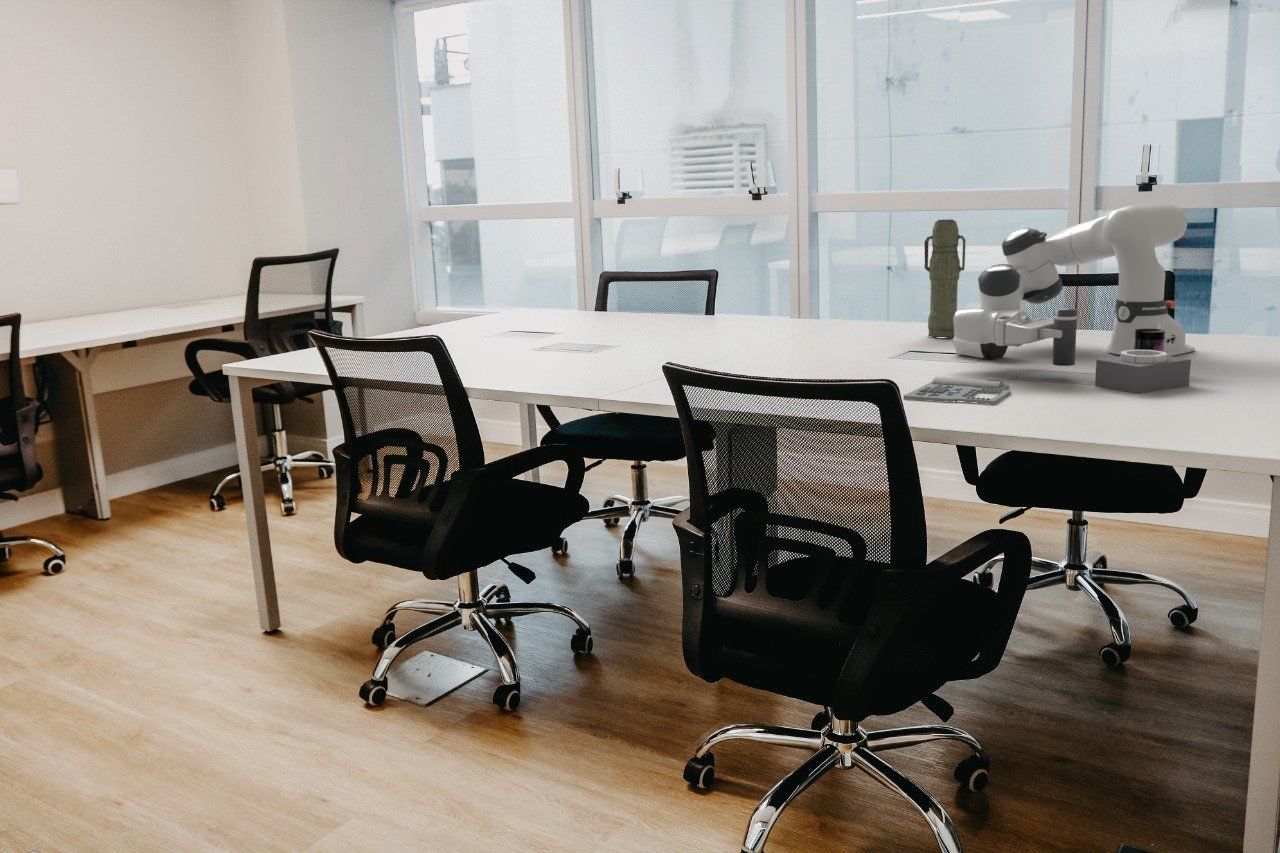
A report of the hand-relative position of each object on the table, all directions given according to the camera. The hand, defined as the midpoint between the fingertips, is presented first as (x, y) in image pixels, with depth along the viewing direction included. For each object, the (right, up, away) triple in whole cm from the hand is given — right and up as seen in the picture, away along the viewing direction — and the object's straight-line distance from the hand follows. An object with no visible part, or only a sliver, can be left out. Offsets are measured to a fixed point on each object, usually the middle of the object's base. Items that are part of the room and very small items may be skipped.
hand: (1068, 332), depth 259 cm
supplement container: (+21, -10, +6) cm, 24 cm away
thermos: (-9, +5, +76) cm, 76 cm away
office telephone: (-28, -15, -8) cm, 33 cm away
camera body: (+14, -13, -8) cm, 20 cm away
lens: (0, -7, +2) cm, 8 cm away
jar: (-13, +2, +42) cm, 44 cm away
